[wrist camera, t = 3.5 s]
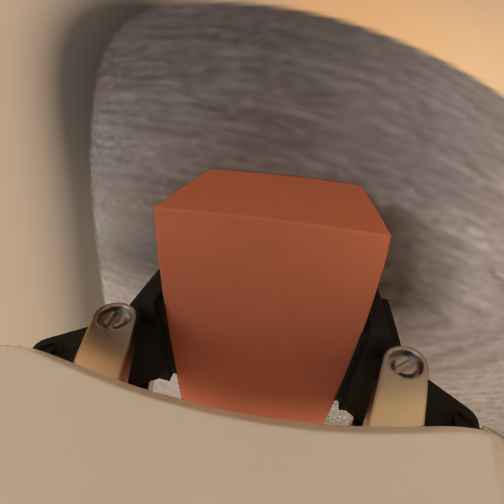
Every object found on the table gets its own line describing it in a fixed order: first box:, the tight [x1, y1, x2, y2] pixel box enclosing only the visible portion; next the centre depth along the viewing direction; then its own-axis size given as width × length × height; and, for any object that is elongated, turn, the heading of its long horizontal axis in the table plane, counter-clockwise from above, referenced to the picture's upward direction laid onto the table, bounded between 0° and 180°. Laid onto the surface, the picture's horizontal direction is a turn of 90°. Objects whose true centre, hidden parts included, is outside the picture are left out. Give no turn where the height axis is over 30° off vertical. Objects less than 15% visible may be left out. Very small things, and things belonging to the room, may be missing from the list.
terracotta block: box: [154, 169, 392, 424], centre depth 9 cm, size 8×5×4 cm, turn 177°
